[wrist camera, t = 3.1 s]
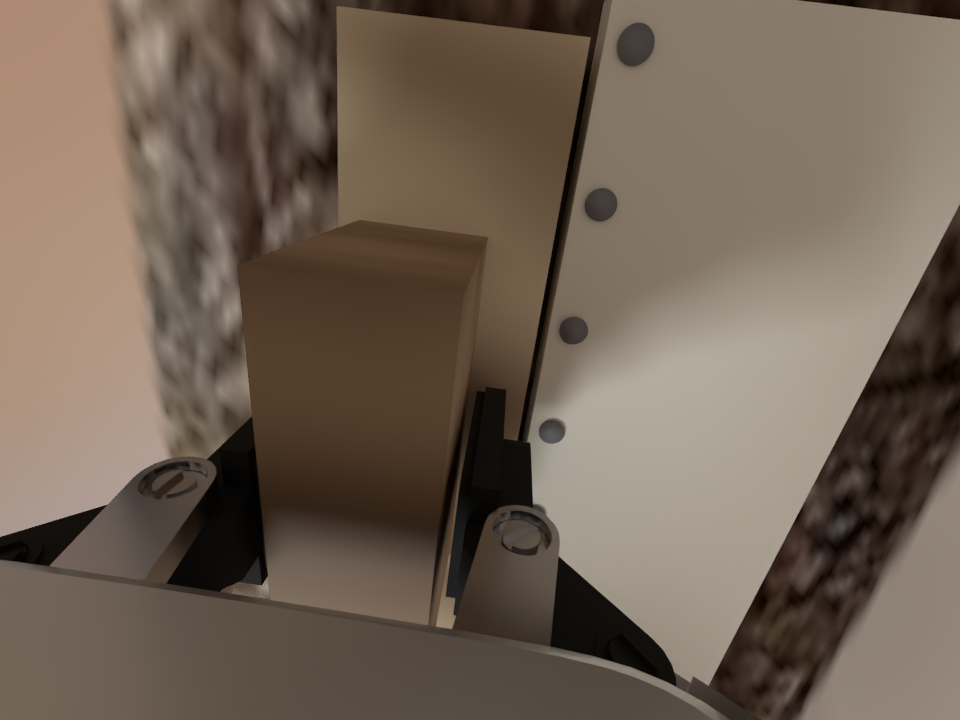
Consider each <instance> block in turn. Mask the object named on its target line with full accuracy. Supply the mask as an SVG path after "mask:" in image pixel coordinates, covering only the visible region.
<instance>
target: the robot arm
mask: <svg viewBox="0 0 960 720" xmlns="http://www.w3.org/2000/svg"><path fill="white" fill-rule="evenodd" d="M505 405H506V390H505V389H498V388H491V387H486V389H485V392H481V391H477V394H476V399H475V404H474V410H473V415H472V421H471V426H470V431H469V437H468V442H467V448H466V453H465V458H464V464H463V469H462V475H461V481H460V487H459V494H458V501H457V509H456V517H455V525H454V533H453V541H452V549H451V557H450V565H449V573H448V581H447V589H446V597H450V598H455V604H454V611H453V615H455V616H456V618H455V621H454V624H453V627H452V629H448V628H442V627H436V626H430V625H424V624H417V623H411V622H405V621H399V620H393V619H387V618H380V617H374V616H368V615H362V614H356V613H350V612H344V611H337V610H331V609H325V608H318V607H312V606H306V605H299V604H293V603H287V602H280V601H274V600H268V599H261V598H255V597H249V596H242V595H236V594H231V593H232V590H233V584H235V583H237V582H243V583H250V584H256V585H262V584H263V583H264V581H265V579H266V578H267V576H268V571H267V561H266V551H265V541H264V531H263V521H262V510H261V500H260V490H259V480H258V470H257V460H256V449H255V439H254V429H253V419H252V417H251V418H250V419H249V420H248V421H247V422H246V423H245V424H244V425H243V426H242V427H240V428H239V429H238V430H237V431H236V432H235V433H234V434H233V435H232V436H231V437H230V438H229V439H228V440H227V441H226V442H225V443H224V444H223V445H222V446H221V447H220V448H219V449H217V450H216V451H215V452H214V453H213V454H212V455H211V456H210V457H209V458H208V459H207V460H206V459H204V458H199V457H178V458H172V459H167V460H164V461H161V462H158V463H156V464H153V465H151V466H150V467H148V468H146V469H144V470H142V471H141V472H140V473H138V474H137V475H136V476H135V477H134V478H133V479H132V480H131V481H130V482H129V483H128V484H127V485H126V486H125V487H124V488H123V489H122V490H121V491H120V492H119V493H118V494H117V496H116V497H115V498H114V499H113V500H112V501H111V502H110V503H109V504H108V505H105V506H102V507H98V508H95V509H92V510H88V511H85V512H82V513H79V514H75V515H72V516H69V517H65V518H62V519H59V520H55V521H52V522H49V523H46V524H42V525H39V526H35V527H32V528H29V529H25V530H22V531H19V532H16V533H12V534H9V535H6V536H2V537H0V720H761V719H759V718H757V717H756V716H754V715H753V714H751V713H750V712H748V711H747V710H745V709H744V708H742V707H740V706H739V705H737V704H736V703H734V702H733V701H731V700H730V699H728V698H726V697H725V696H723V695H722V694H720V693H719V692H717V691H716V690H714V689H712V688H711V687H709V686H708V685H706V684H705V683H703V682H702V681H700V680H698V679H697V678H695V677H694V676H693V677H692V679H691V681H690V682H689V681H687V680H685V679H684V678H682V677H681V676H679V675H678V674H676V673H675V672H674V670H673V667H672V664H671V662H670V661H669V659H668V657H667V655H666V654H665V652H664V651H663V649H662V648H661V647H660V646H659V645H658V644H657V643H656V642H655V641H654V640H653V639H652V638H651V637H650V636H649V635H648V634H647V633H645V632H644V631H643V630H642V629H641V628H640V627H639V626H638V625H636V624H635V623H634V622H633V621H632V620H631V619H630V618H628V617H627V616H626V615H625V614H624V613H623V612H622V611H620V610H619V609H618V608H617V607H616V606H615V605H614V604H612V603H611V602H610V601H609V600H608V599H607V598H606V597H605V596H603V595H602V594H601V593H600V592H599V591H598V590H597V589H595V588H594V587H593V586H592V585H591V584H590V583H589V582H587V581H586V580H585V579H584V578H583V577H582V576H581V575H579V574H578V573H577V572H576V571H575V570H574V569H573V568H572V567H570V566H569V565H568V564H567V563H566V562H565V561H564V560H562V559H561V558H560V557H559V547H560V537H559V532H558V530H557V528H556V526H555V524H554V523H553V522H552V521H551V520H550V519H549V518H548V517H547V516H546V515H544V514H543V513H541V512H540V511H538V510H535V509H533V492H532V466H531V445H530V442H523V441H516V440H509V439H504V423H505Z"/></svg>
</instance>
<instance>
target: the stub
mask: <svg viewBox="0 0 960 720" xmlns="http://www.w3.org/2000/svg"><path fill="white" fill-rule="evenodd" d="M590 39H591V37H584V36H576V35H568V34H559V33H551V32H543V31H535V30H527V29H519V28H511V27H503V26H495V25H487V24H479V23H470V22H462V21H454V20H446V19H438V18H430V17H422V16H414V15H406V14H398V13H390V12H381V11H373V10H365V9H357V8H349V7H341V6H337V112H338V228H336V229H333V230H331V231H328V232H325V233H322V234H320V235H317V236H314V237H312V238H309V239H306V240H303V241H301V242H298V243H295V244H293V245H290V246H287V247H285V248H282V249H279V250H276V251H274V252H271V253H268V254H266V255H263V256H260V257H257V258H255V259H252V260H249V261H247V262H244V263H241V264H238V265H237V266H238V277H239V287H240V297H241V307H242V317H243V327H244V338H245V348H246V358H247V368H248V378H249V388H250V399H251V409H252V419H253V429H254V439H255V449H256V460H257V470H258V480H259V490H260V500H261V510H262V521H263V531H264V541H265V551H266V561H267V571H268V581H269V592H270V600H274V601H280V602H287V603H293V604H299V605H306V606H312V607H318V608H325V609H331V610H337V611H344V612H350V613H356V614H362V615H368V616H374V617H380V618H387V619H393V620H399V621H405V622H411V623H417V624H424V625H430V626H436V627H442V628H448V629H452V627H453V624H454V621H455V618H456V616H455V615H453V611H454V604H455V598H450V597H446V589H447V581H448V573H449V565H450V557H451V549H452V541H453V533H454V525H455V517H456V509H457V501H458V494H459V487H460V481H461V475H462V469H463V464H464V458H465V453H466V448H467V442H468V437H469V431H470V426H471V421H472V415H473V410H474V404H475V399H476V394H477V391H481V392H485V389H486V387H491V388H498V389H505V390H506V405H505V423H504V439H509V440H516V441H517V440H518V435H519V429H520V424H521V418H522V413H523V407H524V402H525V396H526V391H527V385H528V380H529V374H530V369H531V363H532V358H533V352H534V347H535V341H536V336H537V330H538V325H539V319H540V314H541V308H542V303H543V297H544V292H545V286H546V281H547V275H548V270H549V264H550V259H551V253H552V248H553V242H554V237H555V231H556V226H557V220H558V215H559V209H560V204H561V198H562V193H563V188H564V182H565V177H566V171H567V166H568V160H569V155H570V149H571V144H572V138H573V133H574V127H575V122H576V116H577V111H578V105H579V100H580V94H581V89H582V83H583V78H584V72H585V67H586V61H587V56H588V50H589V45H590Z"/></svg>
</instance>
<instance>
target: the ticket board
mask: <svg viewBox="0 0 960 720" xmlns="http://www.w3.org/2000/svg"><path fill="white" fill-rule="evenodd" d="M959 205H960V20H957V19H949V18H940V17H932V16H924V15H915V14H907V13H899V12H890V11H882V10H874V9H866V8H857V7H849V6H841V5H832V4H824V3H816V2H807V1H799V0H605V1H604V3H603V8H602V13H601V19H600V24H599V30H598V35H597V40H596V46H595V51H594V56H593V62H592V67H591V72H590V78H589V83H588V88H587V94H586V99H585V105H584V110H583V115H582V121H581V126H580V131H579V137H578V142H577V147H576V153H575V158H574V163H573V169H572V174H571V180H570V185H569V190H568V196H567V201H566V206H565V212H564V217H563V222H562V228H561V233H560V239H559V244H558V249H557V255H556V260H555V265H554V271H553V276H552V281H551V287H550V292H549V297H548V303H547V308H546V314H545V319H544V324H543V330H542V335H541V340H540V346H539V351H538V356H537V362H536V367H535V373H534V378H533V383H532V389H531V394H530V399H529V405H528V410H527V415H526V421H525V426H524V431H523V437H522V441H523V442H530V445H531V466H532V492H533V509H535V510H538V511H540V512H541V513H543V514H544V515H546V516H547V517H548V518H549V519H550V520H551V521H552V522H553V523H554V524H555V526H556V528H557V530H558V532H559V537H560V547H559V557H560V558H561V559H562V560H564V561H565V562H566V563H567V564H568V565H569V566H570V567H572V568H573V569H574V570H575V571H576V572H577V573H578V574H579V575H581V576H582V577H583V578H584V579H585V580H586V581H587V582H589V583H590V584H591V585H592V586H593V587H594V588H595V589H597V590H598V591H599V592H600V593H601V594H602V595H603V596H605V597H606V598H607V599H608V600H609V601H610V602H611V603H612V604H614V605H615V606H616V607H617V608H618V609H619V610H620V611H622V612H623V613H624V614H625V615H626V616H627V617H628V618H630V619H631V620H632V621H633V622H634V623H635V624H636V625H638V626H639V627H640V628H641V629H642V630H643V631H644V632H645V633H647V634H648V635H649V636H650V637H651V638H652V639H653V640H654V641H655V642H656V643H657V644H658V645H659V646H660V647H661V648H662V649H663V651H664V652H665V654H666V655H667V657H668V659H669V661H670V662H671V664H672V667H673V670H674V672H675V673H676V674H678V675H679V676H681V677H682V678H684V679H685V680H687V681H689V682H690V681H691V679H692V677H693V676H694V677H695V678H697V679H698V680H700V681H702V682H703V683H705V684H706V685H709V684H710V682H711V680H712V678H713V676H714V674H715V672H716V670H717V668H718V666H719V664H720V663H721V661H722V659H723V657H724V655H725V653H726V651H727V649H728V647H729V645H730V643H731V641H732V640H733V638H734V636H735V634H736V632H737V630H738V628H739V626H740V624H741V622H742V620H743V618H744V617H745V615H746V613H747V611H748V609H749V607H750V605H751V603H752V601H753V599H754V597H755V595H756V594H757V592H758V590H759V588H760V586H761V584H762V582H763V580H764V578H765V576H766V574H767V573H768V571H769V569H770V567H771V565H772V563H773V561H774V559H775V557H776V555H777V553H778V551H779V550H780V548H781V546H782V544H783V542H784V540H785V538H786V536H787V534H788V532H789V530H790V528H791V527H792V525H793V523H794V521H795V519H796V517H797V515H798V513H799V511H800V509H801V507H802V505H803V504H804V502H805V500H806V498H807V496H808V494H809V492H810V490H811V488H812V486H813V484H814V483H815V481H816V479H817V477H818V475H819V473H820V471H821V469H822V467H823V465H824V463H825V461H826V460H827V458H828V456H829V454H830V452H831V450H832V448H833V446H834V444H835V442H836V440H837V438H838V437H839V435H840V433H841V431H842V429H843V427H844V425H845V423H846V421H847V419H848V417H849V416H850V414H851V412H852V410H853V408H854V406H855V404H856V402H857V400H858V398H859V396H860V394H861V393H862V391H863V389H864V387H865V385H866V383H867V381H868V379H869V377H870V375H871V373H872V371H873V370H874V368H875V366H876V364H877V362H878V360H879V358H880V356H881V354H882V352H883V350H884V348H885V347H886V345H887V343H888V341H889V339H890V337H891V335H892V333H893V331H894V329H895V327H896V326H897V324H898V322H899V320H900V318H901V316H902V314H903V312H904V310H905V308H906V306H907V304H908V303H909V301H910V299H911V297H912V295H913V293H914V291H915V289H916V287H917V285H918V283H919V281H920V280H921V278H922V276H923V274H924V272H925V270H926V268H927V266H928V264H929V262H930V260H931V258H932V257H933V255H934V253H935V251H936V249H937V247H938V245H939V243H940V241H941V239H942V237H943V236H944V234H945V232H946V230H947V228H948V226H949V224H950V222H951V220H952V218H953V216H954V214H955V213H956V211H957V209H958V207H959Z"/></svg>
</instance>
